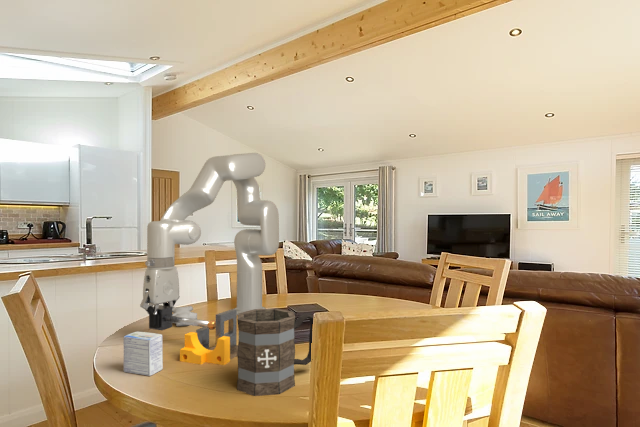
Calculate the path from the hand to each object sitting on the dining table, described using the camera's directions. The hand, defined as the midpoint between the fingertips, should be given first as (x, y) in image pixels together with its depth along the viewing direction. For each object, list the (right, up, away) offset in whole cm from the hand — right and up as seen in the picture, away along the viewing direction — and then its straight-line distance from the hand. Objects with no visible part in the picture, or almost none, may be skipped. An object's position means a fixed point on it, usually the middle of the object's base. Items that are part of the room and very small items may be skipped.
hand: (160, 324), depth 119 cm
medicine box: (+5, -5, -22) cm, 23 cm away
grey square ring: (+19, -5, -9) cm, 22 cm away
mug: (+37, -5, -27) cm, 46 cm away
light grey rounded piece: (-1, -5, +22) cm, 22 cm away
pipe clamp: (+18, -5, -16) cm, 24 cm away
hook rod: (+8, -1, -4) cm, 9 cm away
